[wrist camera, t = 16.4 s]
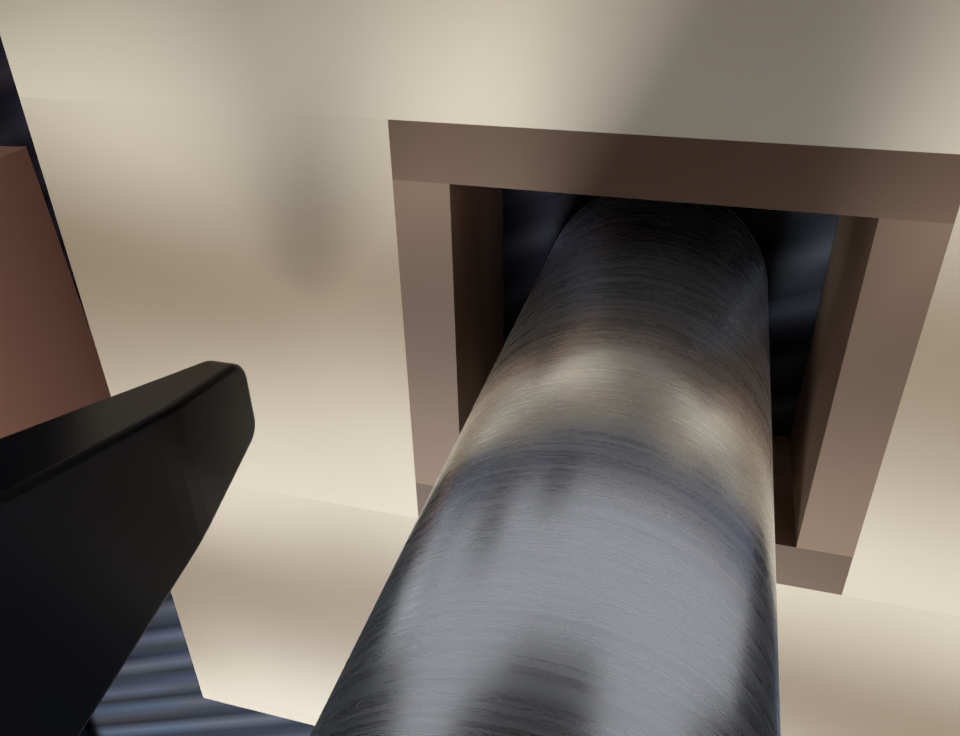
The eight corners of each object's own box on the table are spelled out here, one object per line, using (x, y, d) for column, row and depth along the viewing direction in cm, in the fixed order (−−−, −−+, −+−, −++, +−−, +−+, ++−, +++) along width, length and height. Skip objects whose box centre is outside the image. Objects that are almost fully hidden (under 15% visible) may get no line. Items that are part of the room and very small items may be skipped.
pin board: (1052, 776, 15) (1098, 921, 13) (262, 605, 19) (203, 697, 17) (1979, -785, 6) (2667, -1134, 4) (11, -500, 9) (-194, -593, 7)
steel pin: (748, 392, 13) (741, 1130, 5) (545, 365, 14) (297, 982, 6) (786, 192, 11) (846, 875, 4) (549, 174, 12) (219, 715, 5)
